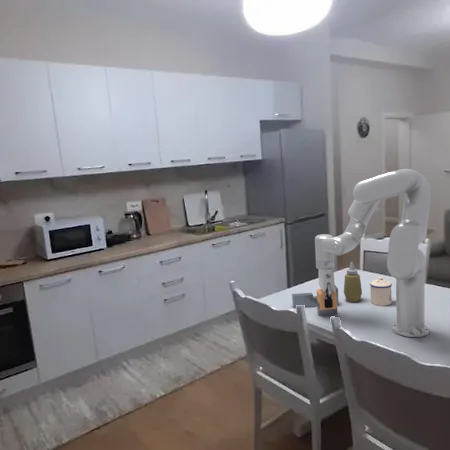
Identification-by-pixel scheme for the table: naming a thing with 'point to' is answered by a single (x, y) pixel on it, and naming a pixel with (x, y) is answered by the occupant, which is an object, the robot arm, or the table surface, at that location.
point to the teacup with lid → (381, 292)
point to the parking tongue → (325, 311)
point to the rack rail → (307, 299)
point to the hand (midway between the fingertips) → (326, 304)
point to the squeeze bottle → (352, 284)
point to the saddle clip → (322, 302)
